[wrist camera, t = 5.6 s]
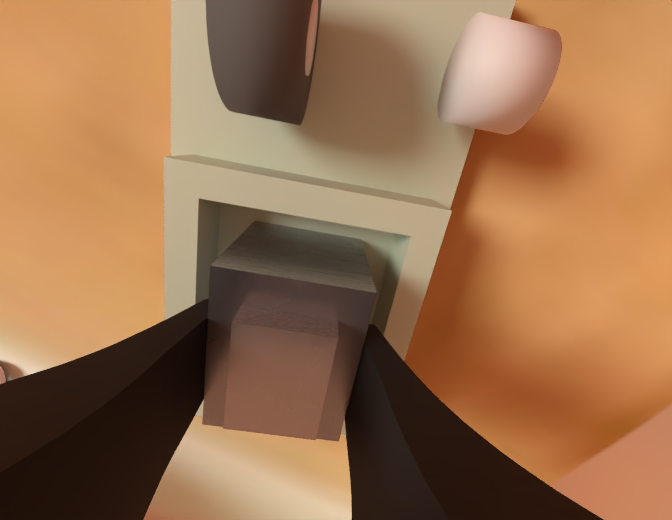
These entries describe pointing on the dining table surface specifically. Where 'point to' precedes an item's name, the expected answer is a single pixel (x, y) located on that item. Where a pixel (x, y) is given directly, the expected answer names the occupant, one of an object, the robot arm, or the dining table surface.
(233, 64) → the wheel
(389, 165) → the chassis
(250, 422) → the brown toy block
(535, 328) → the dining table surface
